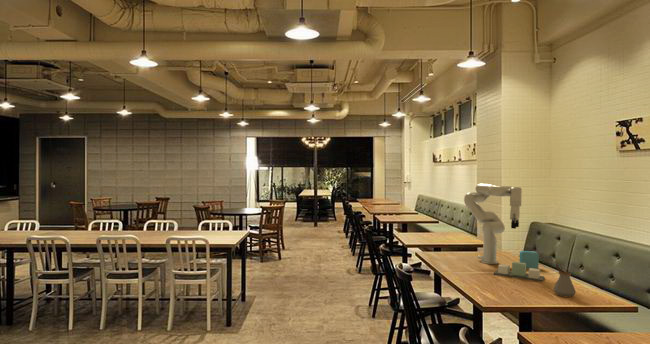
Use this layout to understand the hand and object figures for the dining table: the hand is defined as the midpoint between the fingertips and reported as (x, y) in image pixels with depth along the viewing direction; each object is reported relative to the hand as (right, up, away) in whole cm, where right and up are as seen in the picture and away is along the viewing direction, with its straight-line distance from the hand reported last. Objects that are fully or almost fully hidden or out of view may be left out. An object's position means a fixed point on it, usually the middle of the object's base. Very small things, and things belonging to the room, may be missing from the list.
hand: (514, 227), depth 314 cm
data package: (+13, -31, +6) cm, 34 cm away
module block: (-6, -29, -21) cm, 36 cm away
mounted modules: (-7, -29, -21) cm, 37 cm away
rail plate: (-7, -31, -21) cm, 38 cm away
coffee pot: (+2, -32, -57) cm, 65 cm away
